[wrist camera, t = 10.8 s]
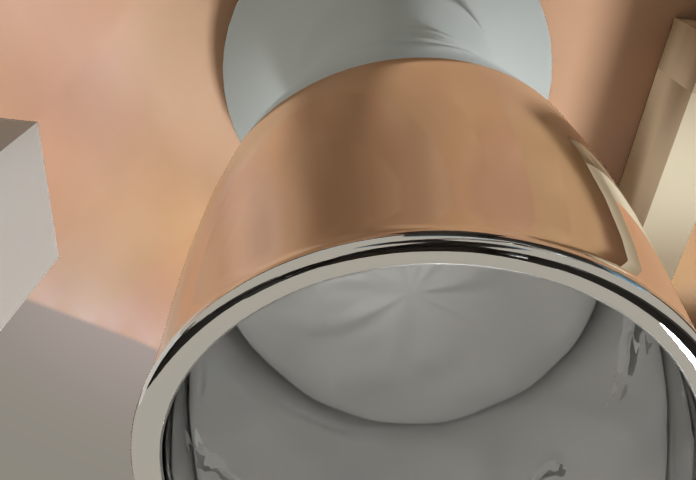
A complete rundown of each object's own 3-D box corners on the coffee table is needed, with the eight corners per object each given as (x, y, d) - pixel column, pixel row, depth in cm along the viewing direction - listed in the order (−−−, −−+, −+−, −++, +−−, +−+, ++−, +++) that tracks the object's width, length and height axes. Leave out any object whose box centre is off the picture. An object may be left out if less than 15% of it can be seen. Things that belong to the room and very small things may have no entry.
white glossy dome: (226, -116, 18) (222, -116, 18) (586, -78, 18) (592, -77, 18) (226, 206, 23) (223, 214, 23) (508, 234, 23) (511, 242, 23)
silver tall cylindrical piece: (468, -79, 18) (716, 89, 5) (535, 145, 21) (793, 609, 8) (240, 22, 19) (-31, 352, 6) (334, 216, 23) (278, 702, 10)
